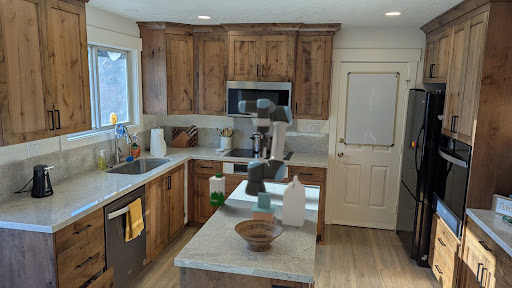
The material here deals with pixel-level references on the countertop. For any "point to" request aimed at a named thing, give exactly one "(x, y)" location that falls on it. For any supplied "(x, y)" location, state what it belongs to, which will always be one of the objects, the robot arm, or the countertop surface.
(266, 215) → the pot
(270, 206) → the lid
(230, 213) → the mat
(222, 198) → the milk carton
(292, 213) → the milk
